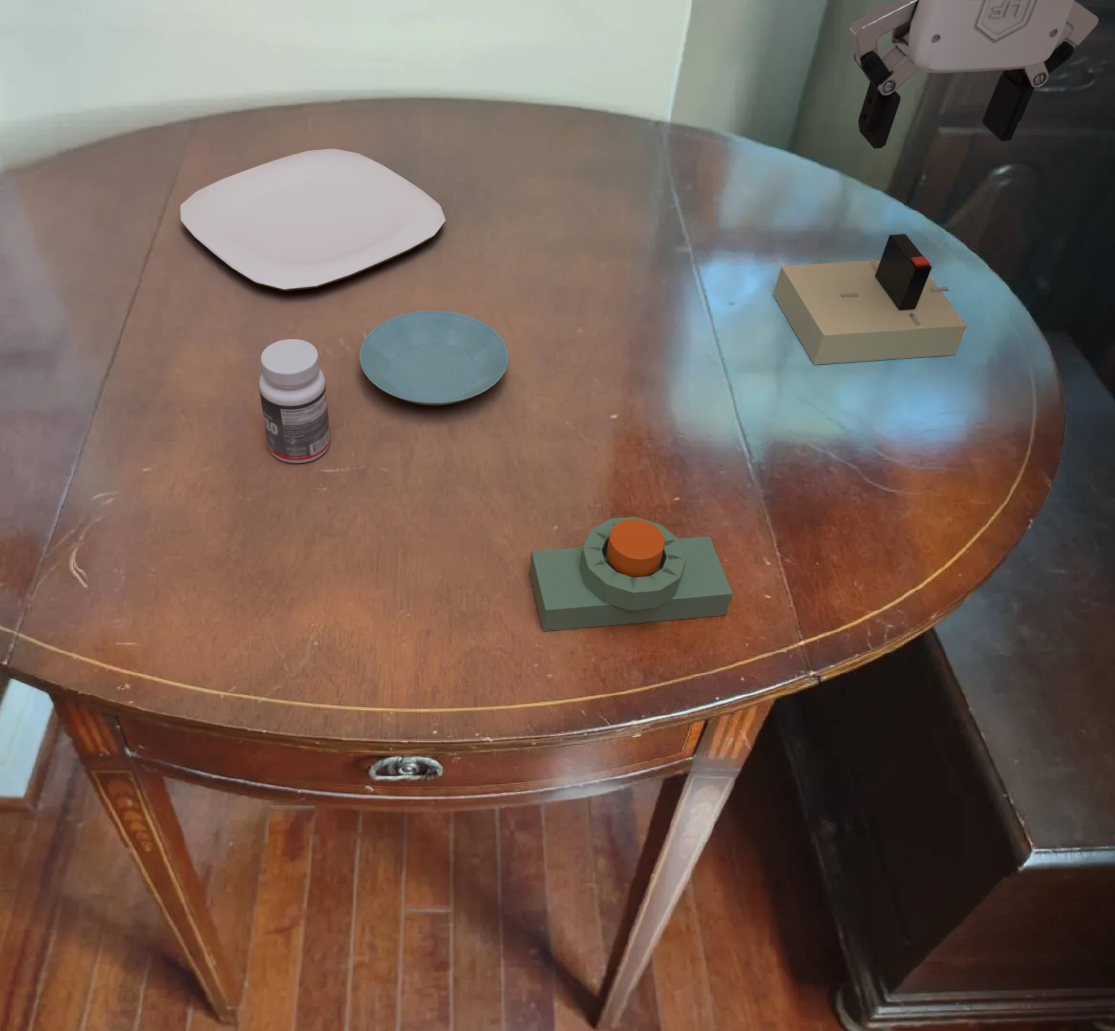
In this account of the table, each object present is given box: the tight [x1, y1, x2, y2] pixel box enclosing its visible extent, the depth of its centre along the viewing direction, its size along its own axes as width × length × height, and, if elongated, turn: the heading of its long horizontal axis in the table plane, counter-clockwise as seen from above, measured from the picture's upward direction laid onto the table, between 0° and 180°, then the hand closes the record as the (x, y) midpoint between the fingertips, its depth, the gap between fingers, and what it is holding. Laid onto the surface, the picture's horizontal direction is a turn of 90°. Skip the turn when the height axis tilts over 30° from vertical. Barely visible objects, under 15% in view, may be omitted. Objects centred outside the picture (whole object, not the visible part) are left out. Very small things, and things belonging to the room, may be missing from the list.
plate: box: [179, 148, 447, 292], centre depth 100 cm, size 22×22×2 cm
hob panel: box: [772, 259, 968, 366], centre depth 88 cm, size 13×10×3 cm
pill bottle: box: [258, 338, 331, 464], centre depth 76 cm, size 5×5×8 cm
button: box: [606, 519, 665, 577], centre depth 66 cm, size 3×3×2 cm
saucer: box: [358, 310, 510, 406], centre depth 84 cm, size 12×12×2 cm
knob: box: [875, 233, 933, 310], centre depth 86 cm, size 5×1×4 cm, turn 6°
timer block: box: [528, 516, 734, 632], centre depth 67 cm, size 12×6×4 cm, turn 96°
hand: (933, 136), depth 78 cm, fingers open, 9 cm apart
